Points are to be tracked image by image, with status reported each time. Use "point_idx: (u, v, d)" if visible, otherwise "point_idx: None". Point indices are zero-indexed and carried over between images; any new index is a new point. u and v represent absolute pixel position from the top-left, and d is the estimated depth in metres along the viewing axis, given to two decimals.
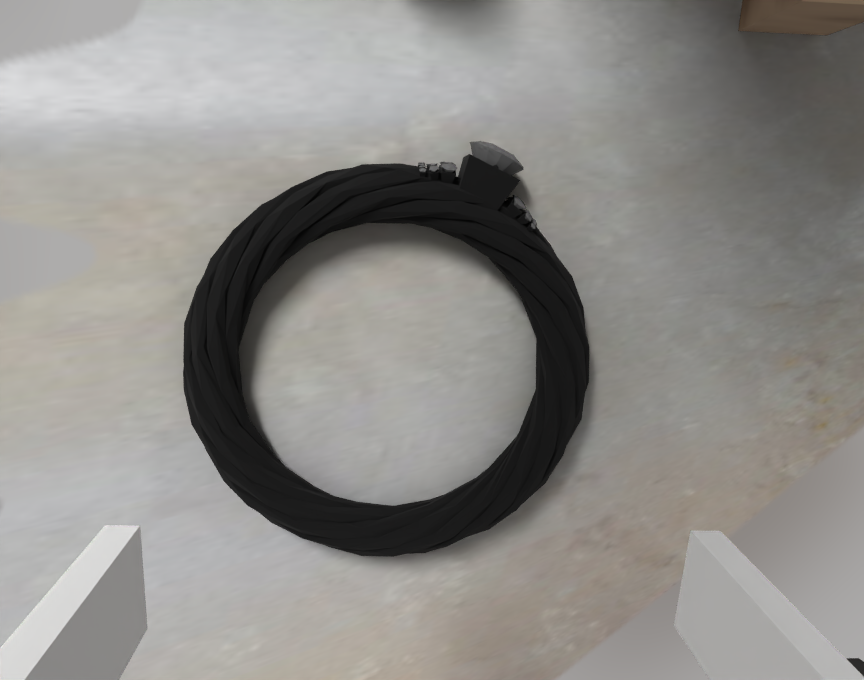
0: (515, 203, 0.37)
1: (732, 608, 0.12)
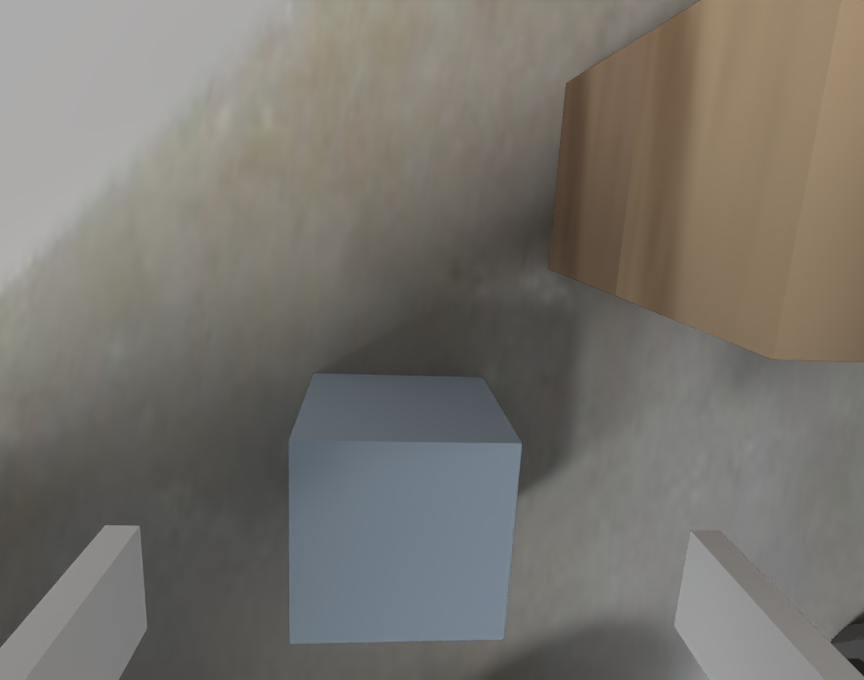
0: None
1: (732, 608, 0.12)
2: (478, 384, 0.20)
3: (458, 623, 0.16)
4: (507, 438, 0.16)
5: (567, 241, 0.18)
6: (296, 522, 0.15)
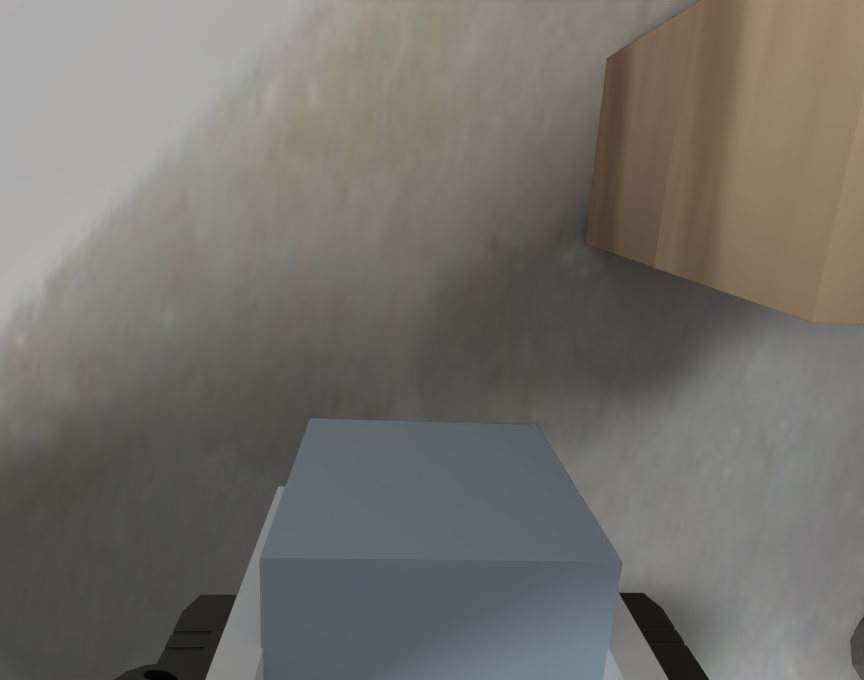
0: None
1: None
2: (535, 439, 0.15)
3: None
4: (596, 549, 0.10)
5: (605, 215, 0.19)
6: (272, 676, 0.10)
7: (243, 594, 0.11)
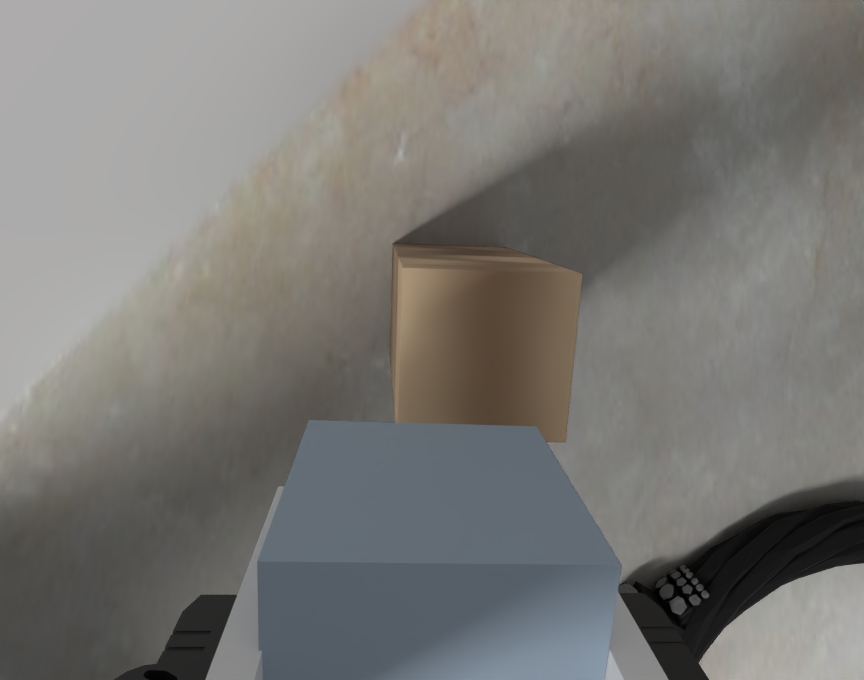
0: (679, 613, 0.34)
1: None
2: (534, 440, 0.15)
3: None
4: (596, 553, 0.10)
5: None
6: None
7: (243, 594, 0.11)
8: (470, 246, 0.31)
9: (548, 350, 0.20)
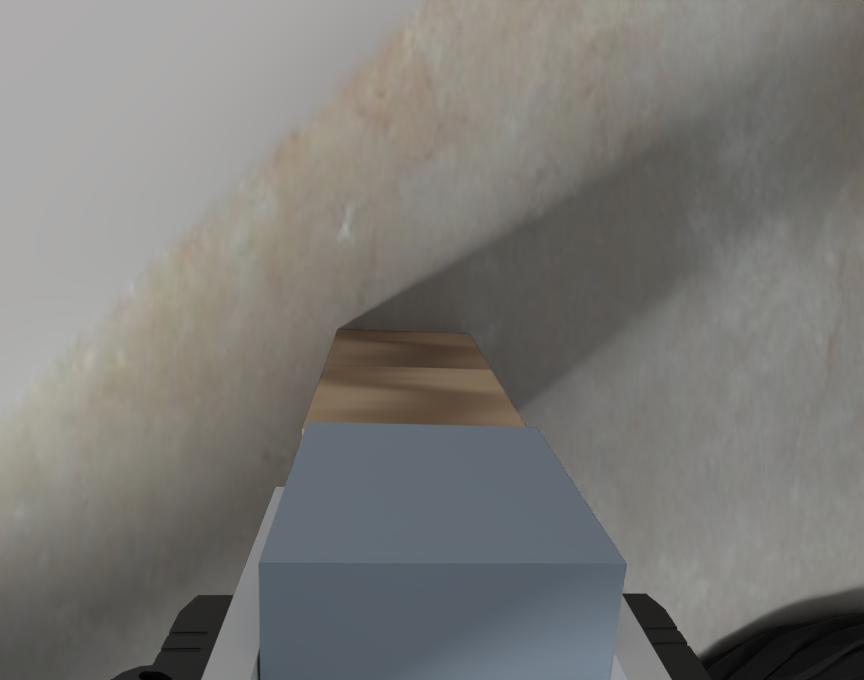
0: None
1: None
2: (535, 441, 0.15)
3: None
4: (600, 552, 0.10)
5: None
6: None
7: (240, 595, 0.11)
8: (427, 332, 0.27)
9: None
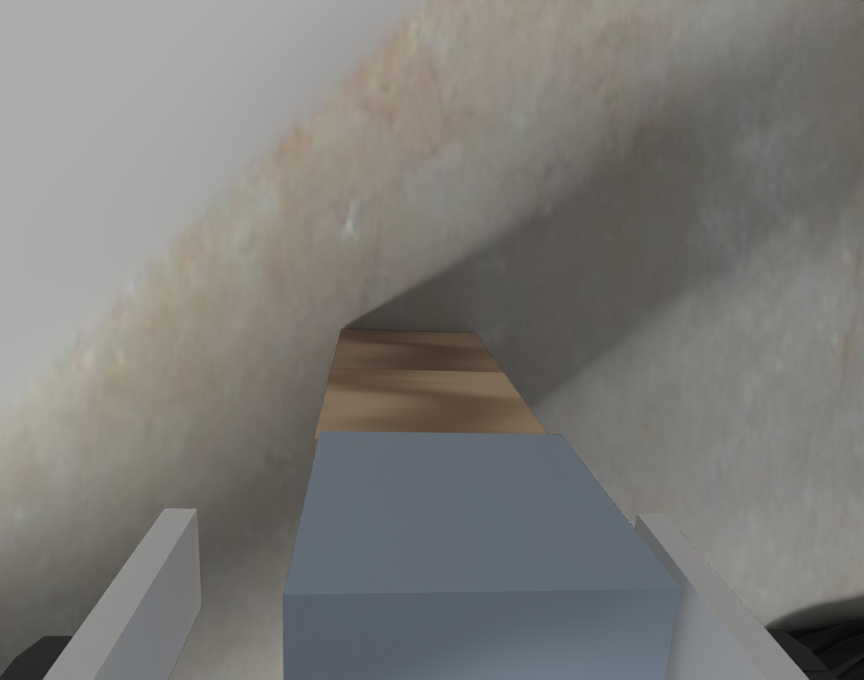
0: None
1: None
2: (561, 450, 0.14)
3: None
4: (651, 575, 0.09)
5: None
6: None
7: (77, 639, 0.10)
8: (433, 333, 0.26)
9: None
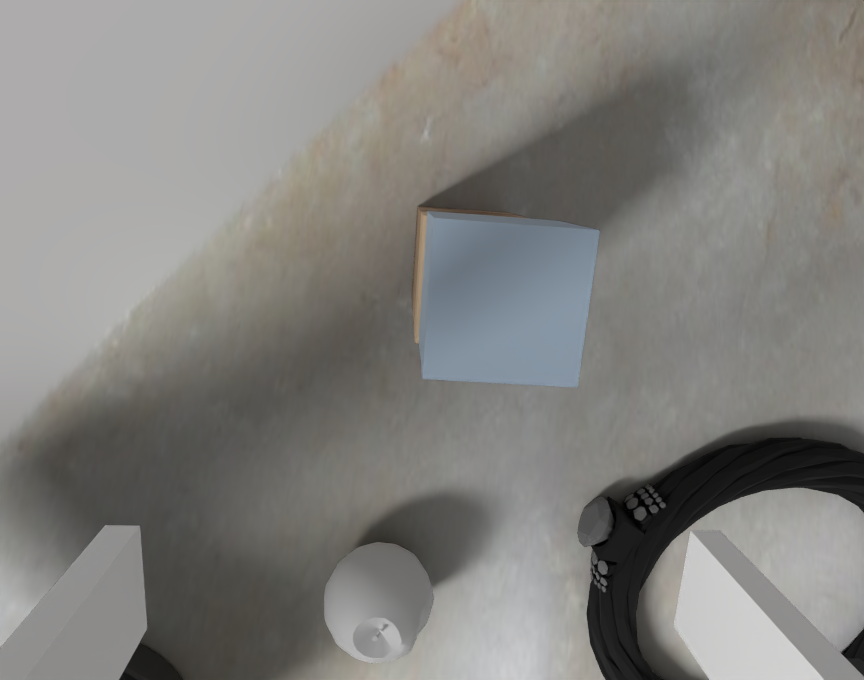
0: (640, 519, 0.42)
1: (732, 608, 0.12)
2: (556, 221, 0.26)
3: (544, 371, 0.22)
4: (588, 228, 0.21)
5: None
6: (434, 282, 0.21)
7: None
8: None
9: None
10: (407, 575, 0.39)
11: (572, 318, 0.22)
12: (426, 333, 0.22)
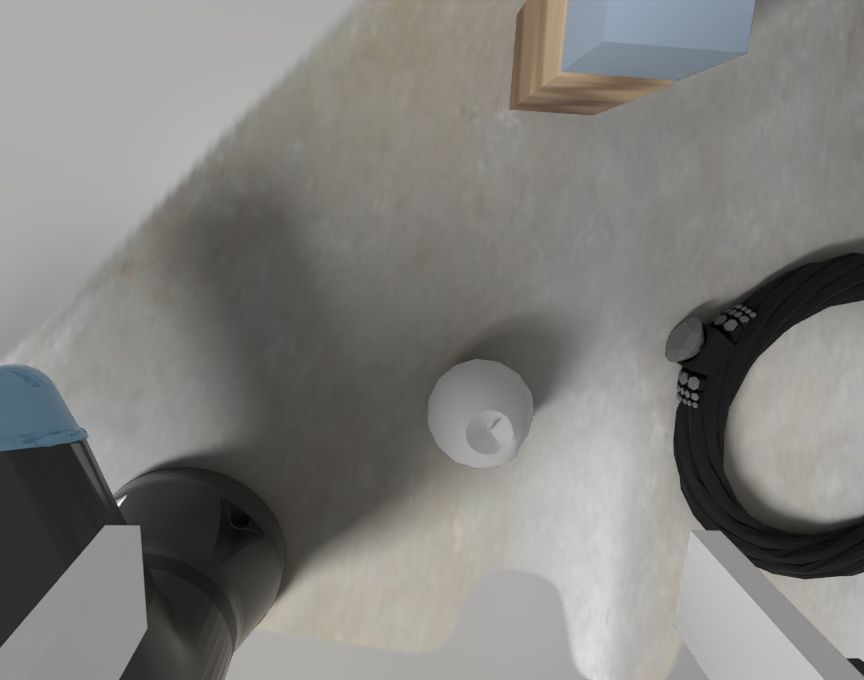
0: (731, 330, 0.43)
1: (732, 608, 0.12)
2: None
3: (717, 35, 0.24)
4: None
5: (516, 88, 0.39)
6: None
7: None
8: None
9: None
10: (513, 378, 0.40)
11: None
12: None
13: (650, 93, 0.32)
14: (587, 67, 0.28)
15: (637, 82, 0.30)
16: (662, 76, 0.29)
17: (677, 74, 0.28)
